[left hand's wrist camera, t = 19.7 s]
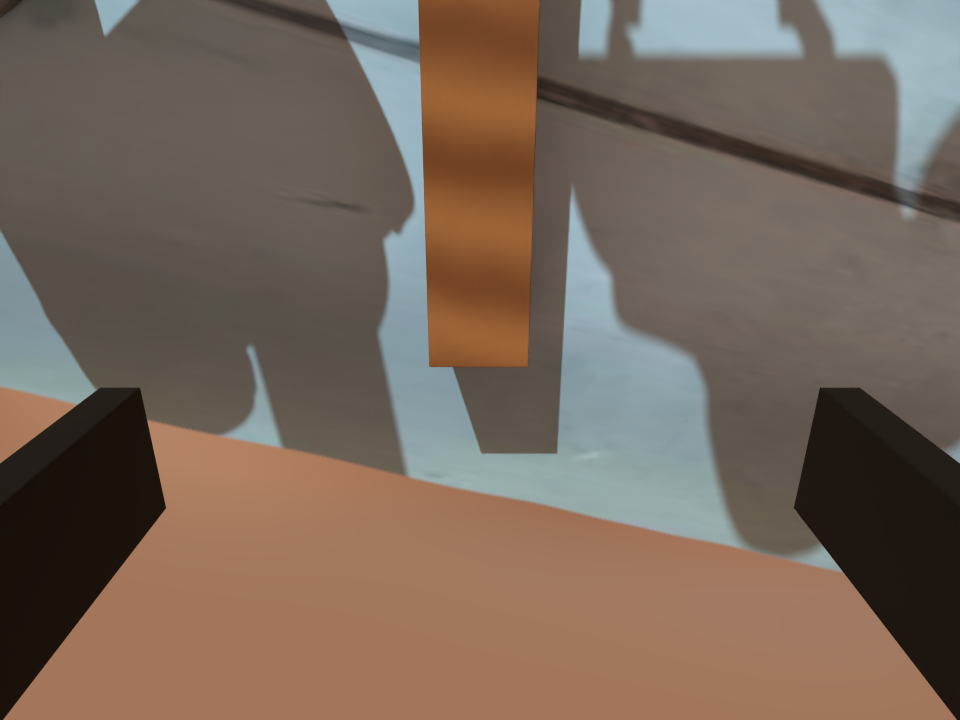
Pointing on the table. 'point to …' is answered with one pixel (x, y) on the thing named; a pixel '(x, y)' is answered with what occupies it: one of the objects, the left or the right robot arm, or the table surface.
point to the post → (478, 177)
